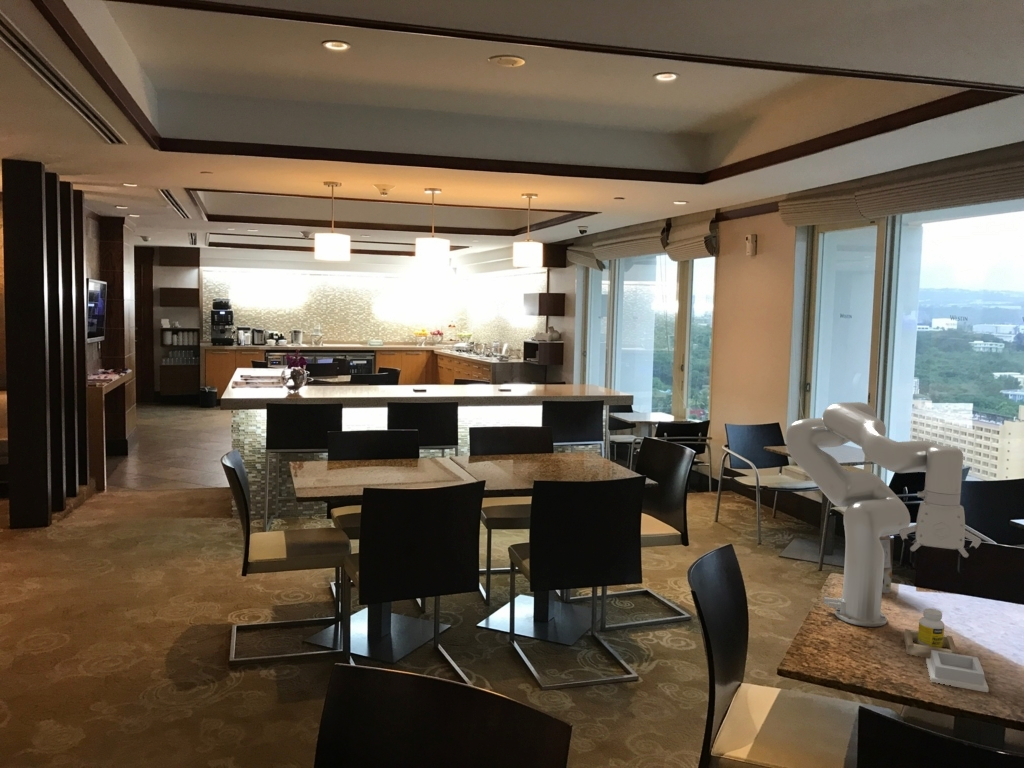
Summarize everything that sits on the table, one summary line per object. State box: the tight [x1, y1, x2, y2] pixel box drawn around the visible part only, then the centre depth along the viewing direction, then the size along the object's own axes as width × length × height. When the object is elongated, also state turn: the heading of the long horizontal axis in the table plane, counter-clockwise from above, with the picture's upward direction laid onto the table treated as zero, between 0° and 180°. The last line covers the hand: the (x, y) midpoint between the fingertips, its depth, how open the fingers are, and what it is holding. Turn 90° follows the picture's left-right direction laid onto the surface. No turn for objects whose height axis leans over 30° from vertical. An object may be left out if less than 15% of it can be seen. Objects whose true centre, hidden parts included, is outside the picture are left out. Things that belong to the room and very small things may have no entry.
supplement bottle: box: [916, 607, 945, 648], centre depth 193 cm, size 5×5×10 cm
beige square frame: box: [903, 628, 959, 659], centre depth 193 cm, size 10×10×2 cm
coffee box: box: [879, 535, 895, 594], centre depth 236 cm, size 9×6×16 cm
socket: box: [925, 650, 989, 693], centre depth 179 cm, size 11×11×4 cm
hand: (937, 569), depth 191 cm, fingers open, 9 cm apart
